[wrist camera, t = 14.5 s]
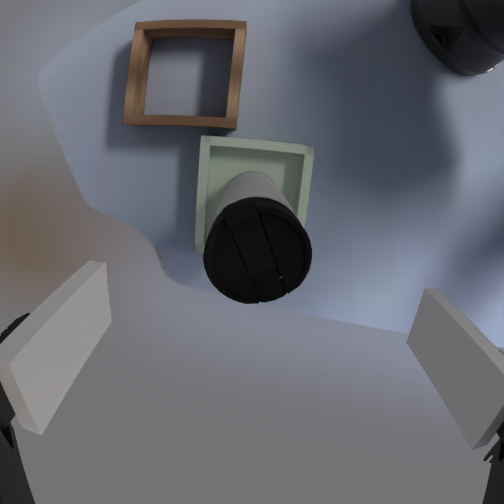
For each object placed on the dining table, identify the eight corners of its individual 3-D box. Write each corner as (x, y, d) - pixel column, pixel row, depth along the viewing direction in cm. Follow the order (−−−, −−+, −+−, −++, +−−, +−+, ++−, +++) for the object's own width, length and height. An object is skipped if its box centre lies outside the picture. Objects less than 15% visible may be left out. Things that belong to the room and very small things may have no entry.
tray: (204, 135, 35) (201, 135, 32) (309, 145, 36) (315, 146, 33) (197, 244, 39) (194, 252, 37) (296, 252, 40) (299, 261, 37)
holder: (146, 32, 30) (135, 22, 27) (246, 32, 31) (246, 21, 27) (134, 125, 34) (122, 124, 31) (236, 129, 35) (234, 127, 31)
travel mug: (268, 160, 35) (294, 183, 16) (287, 214, 37) (327, 293, 18) (215, 179, 36) (180, 224, 17) (235, 232, 38) (225, 326, 19)
